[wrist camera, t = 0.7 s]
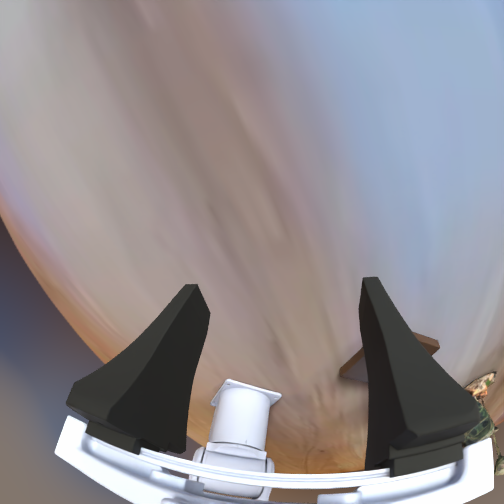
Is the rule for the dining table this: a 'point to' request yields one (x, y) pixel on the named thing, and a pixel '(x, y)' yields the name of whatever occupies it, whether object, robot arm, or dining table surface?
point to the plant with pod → (483, 419)
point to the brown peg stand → (358, 364)
